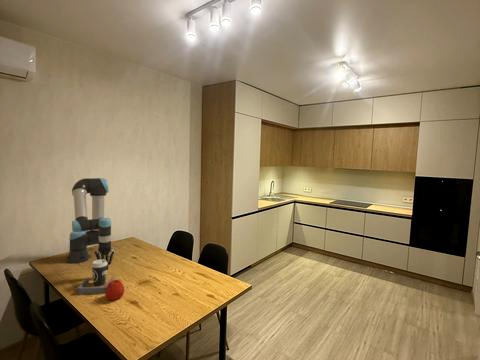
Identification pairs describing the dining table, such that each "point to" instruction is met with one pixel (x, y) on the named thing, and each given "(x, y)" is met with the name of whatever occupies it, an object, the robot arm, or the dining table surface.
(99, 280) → the coffee cup
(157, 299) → the dining table surface
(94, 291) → the bay
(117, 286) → the apple
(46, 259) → the dining table surface
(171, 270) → the dining table surface
